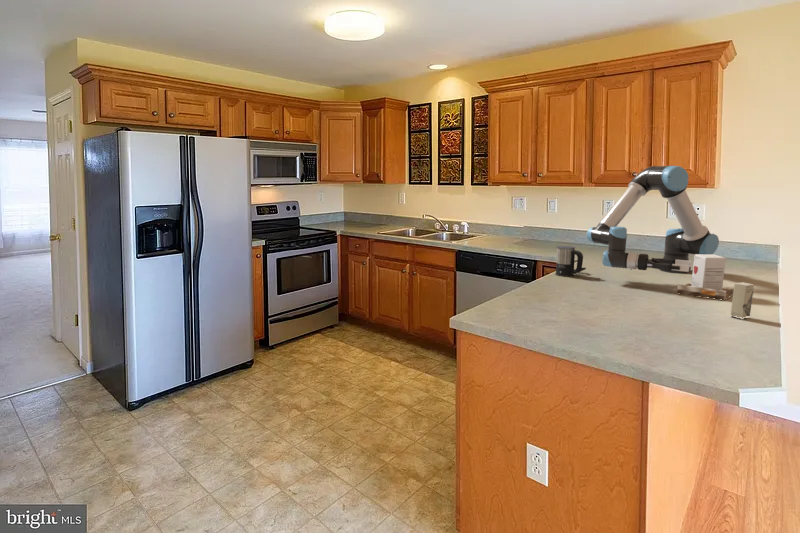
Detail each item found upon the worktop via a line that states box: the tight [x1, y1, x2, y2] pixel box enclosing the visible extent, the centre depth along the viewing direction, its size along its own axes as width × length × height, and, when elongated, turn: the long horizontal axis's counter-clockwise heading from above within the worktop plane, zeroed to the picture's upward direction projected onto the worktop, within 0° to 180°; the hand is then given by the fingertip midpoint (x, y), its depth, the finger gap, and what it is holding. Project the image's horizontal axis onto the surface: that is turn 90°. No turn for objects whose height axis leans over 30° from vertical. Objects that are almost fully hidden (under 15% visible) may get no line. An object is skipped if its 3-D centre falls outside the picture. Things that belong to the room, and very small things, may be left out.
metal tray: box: [676, 283, 734, 301], centre depth 220 cm, size 18×16×4 cm
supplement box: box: [690, 253, 727, 290], centre depth 219 cm, size 9×9×15 cm
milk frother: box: [555, 245, 587, 277], centre depth 262 cm, size 14×16×15 cm
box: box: [730, 281, 755, 318], centre depth 184 cm, size 5×4×13 cm
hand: (690, 266), depth 223 cm, fingers open, 13 cm apart
